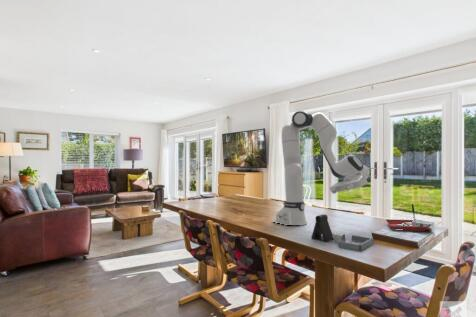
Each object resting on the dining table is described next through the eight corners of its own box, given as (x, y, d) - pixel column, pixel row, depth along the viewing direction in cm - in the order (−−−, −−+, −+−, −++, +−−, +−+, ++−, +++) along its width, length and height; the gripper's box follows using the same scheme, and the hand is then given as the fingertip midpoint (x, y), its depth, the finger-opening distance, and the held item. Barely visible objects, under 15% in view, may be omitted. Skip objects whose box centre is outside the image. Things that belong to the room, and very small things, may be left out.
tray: (338, 246, 123) (338, 241, 123) (352, 240, 133) (352, 234, 134) (360, 251, 116) (360, 245, 116) (373, 243, 126) (373, 238, 126)
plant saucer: (390, 231, 149) (390, 225, 149) (385, 224, 166) (385, 218, 166) (429, 233, 143) (429, 226, 143) (420, 225, 160) (419, 220, 160)
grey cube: (333, 242, 131) (333, 234, 131) (337, 240, 133) (337, 232, 133) (341, 244, 128) (341, 235, 128) (345, 242, 131) (345, 233, 131)
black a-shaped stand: (333, 239, 135) (332, 215, 136) (326, 242, 132) (325, 217, 132) (318, 236, 142) (317, 213, 143) (311, 238, 139) (310, 214, 139)
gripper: (335, 180, 166) (322, 189, 158) (365, 172, 150) (353, 181, 142) (339, 189, 166) (327, 199, 158) (370, 182, 150) (358, 192, 142)
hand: (340, 190), depth 150 cm, fingers open, 8 cm apart
